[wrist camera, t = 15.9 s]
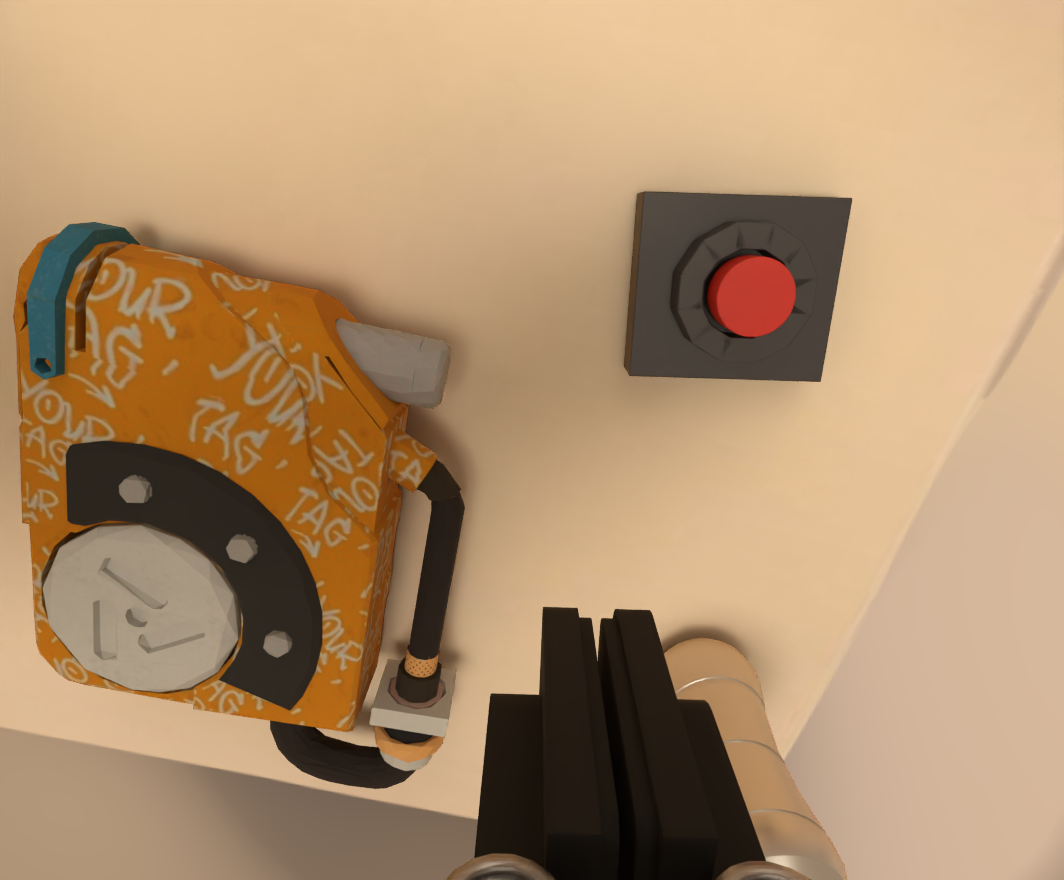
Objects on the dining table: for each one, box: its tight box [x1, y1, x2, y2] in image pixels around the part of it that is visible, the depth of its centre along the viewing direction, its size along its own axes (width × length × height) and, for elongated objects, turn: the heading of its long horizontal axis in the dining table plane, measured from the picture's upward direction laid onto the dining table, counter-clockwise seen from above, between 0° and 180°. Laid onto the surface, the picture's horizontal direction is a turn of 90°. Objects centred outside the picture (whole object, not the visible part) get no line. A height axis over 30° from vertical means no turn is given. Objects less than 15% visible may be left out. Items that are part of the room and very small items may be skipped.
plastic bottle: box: [664, 638, 847, 880], centre depth 33 cm, size 6×7×20 cm
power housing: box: [624, 191, 852, 382], centre depth 33 cm, size 10×9×4 cm
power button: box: [707, 255, 796, 337], centre depth 30 cm, size 4×4×2 cm
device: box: [13, 222, 465, 789], centre depth 35 cm, size 23×8×30 cm
